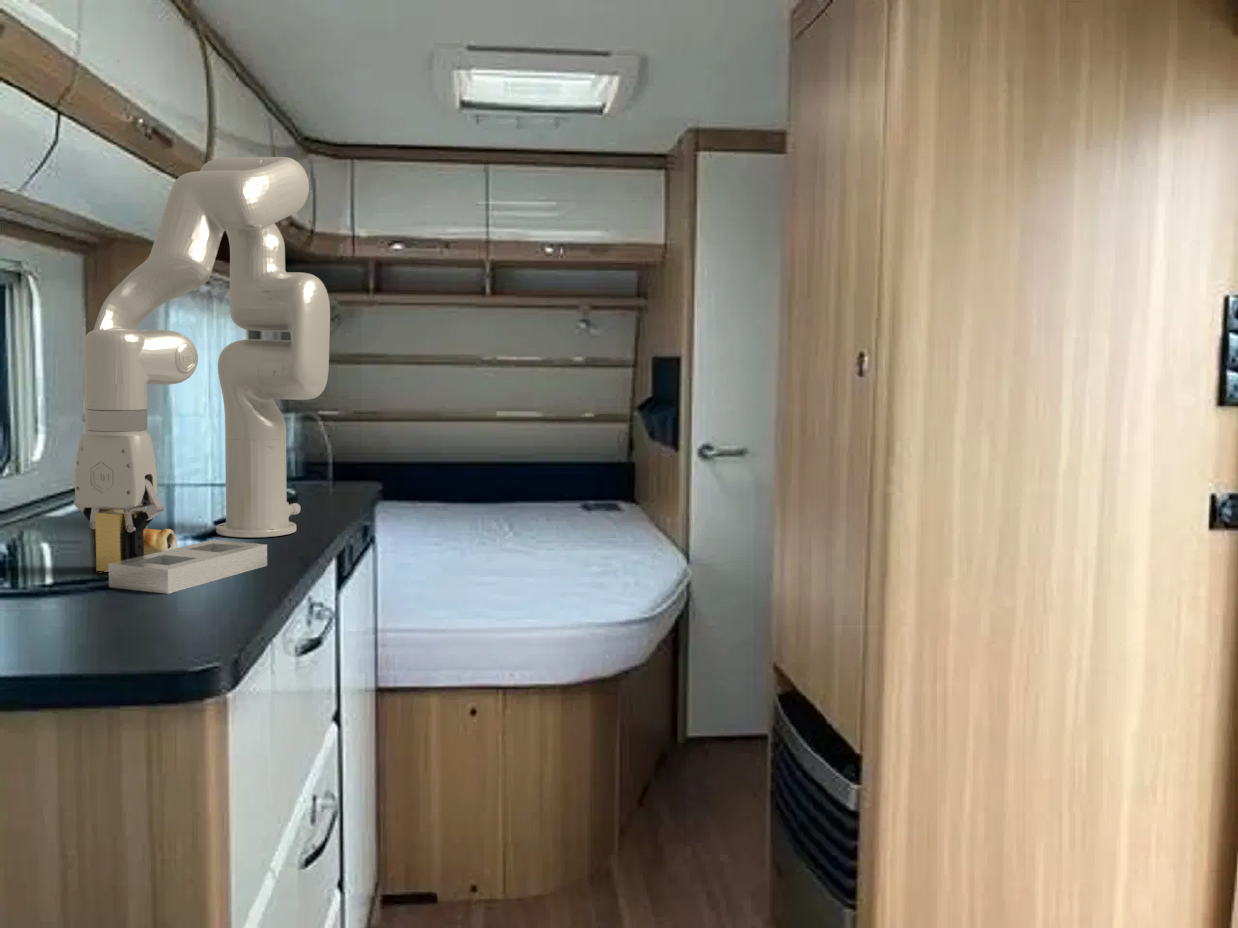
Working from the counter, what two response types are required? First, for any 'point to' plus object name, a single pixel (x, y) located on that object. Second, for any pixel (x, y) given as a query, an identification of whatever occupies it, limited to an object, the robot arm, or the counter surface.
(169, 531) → the pastry
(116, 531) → the wooden block
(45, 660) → the counter surface
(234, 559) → the board with square holes
